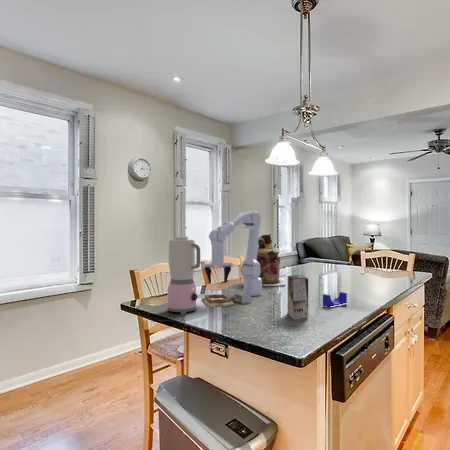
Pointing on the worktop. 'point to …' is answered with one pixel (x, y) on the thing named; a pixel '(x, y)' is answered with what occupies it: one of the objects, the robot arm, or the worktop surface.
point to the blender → (182, 274)
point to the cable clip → (336, 301)
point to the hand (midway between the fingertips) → (217, 282)
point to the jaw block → (243, 298)
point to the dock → (217, 300)
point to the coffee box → (298, 296)
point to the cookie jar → (268, 262)
